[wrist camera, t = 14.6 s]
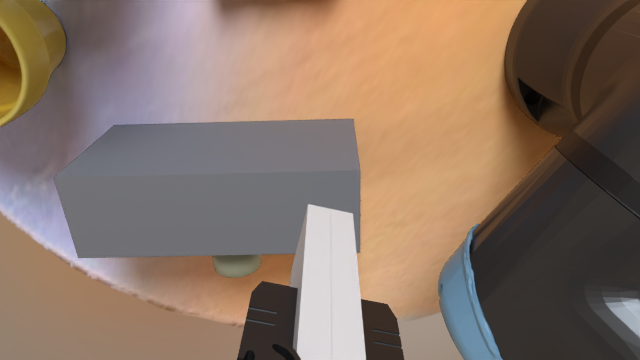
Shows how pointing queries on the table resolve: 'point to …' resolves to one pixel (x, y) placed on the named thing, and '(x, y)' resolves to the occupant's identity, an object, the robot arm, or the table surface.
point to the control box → (208, 187)
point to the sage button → (236, 265)
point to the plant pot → (27, 54)
